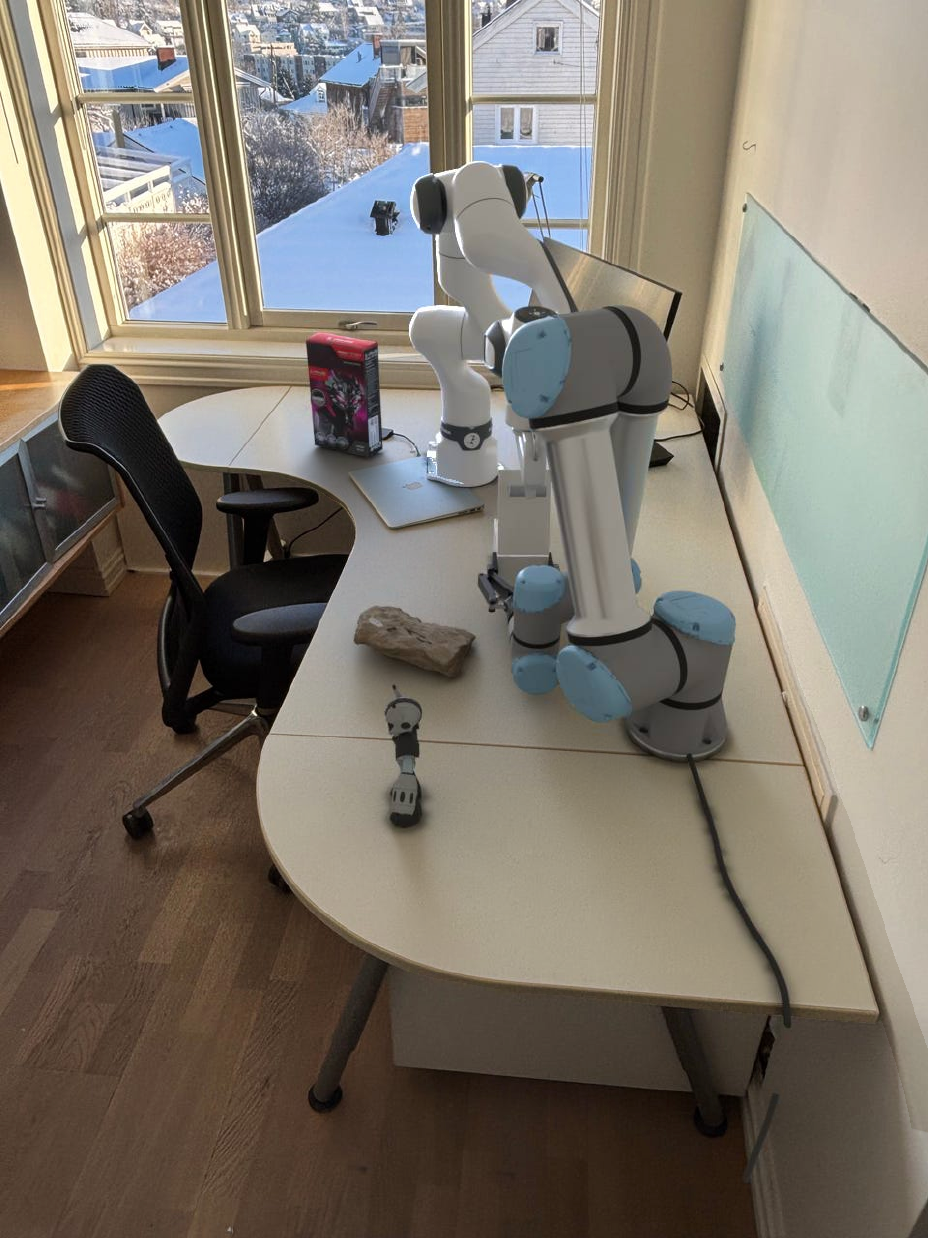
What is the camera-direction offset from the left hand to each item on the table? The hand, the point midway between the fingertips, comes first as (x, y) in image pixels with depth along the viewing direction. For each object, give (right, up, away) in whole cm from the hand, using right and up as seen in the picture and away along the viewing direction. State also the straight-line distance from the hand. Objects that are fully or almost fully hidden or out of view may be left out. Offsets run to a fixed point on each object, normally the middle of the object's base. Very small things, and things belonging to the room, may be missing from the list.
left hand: (528, 490), depth 158 cm
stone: (-20, -28, +2) cm, 35 cm away
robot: (-19, -48, -29) cm, 59 cm away
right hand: (0, -11, +16) cm, 19 cm away
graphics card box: (-40, +21, +74) cm, 87 cm away
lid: (0, -3, +11) cm, 11 cm away
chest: (0, -14, +23) cm, 27 cm away
